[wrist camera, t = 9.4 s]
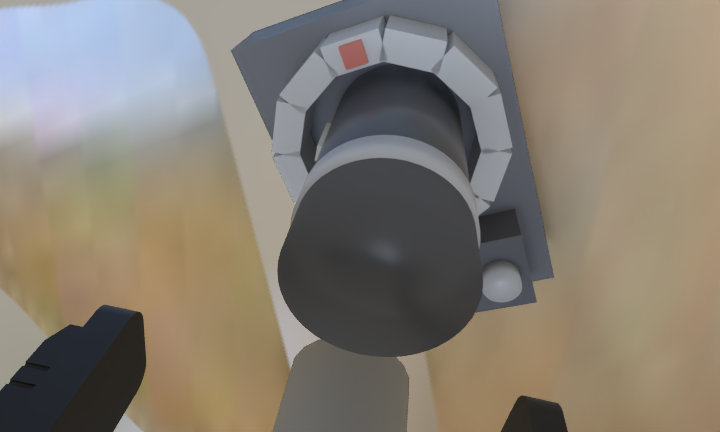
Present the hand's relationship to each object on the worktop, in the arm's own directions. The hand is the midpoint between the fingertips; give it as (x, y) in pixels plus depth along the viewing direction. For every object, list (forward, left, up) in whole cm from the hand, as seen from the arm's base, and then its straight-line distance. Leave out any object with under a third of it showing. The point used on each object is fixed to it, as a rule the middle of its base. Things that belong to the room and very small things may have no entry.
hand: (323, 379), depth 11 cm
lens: (0, -1, -13) cm, 13 cm away
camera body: (-2, -1, -16) cm, 16 cm away
